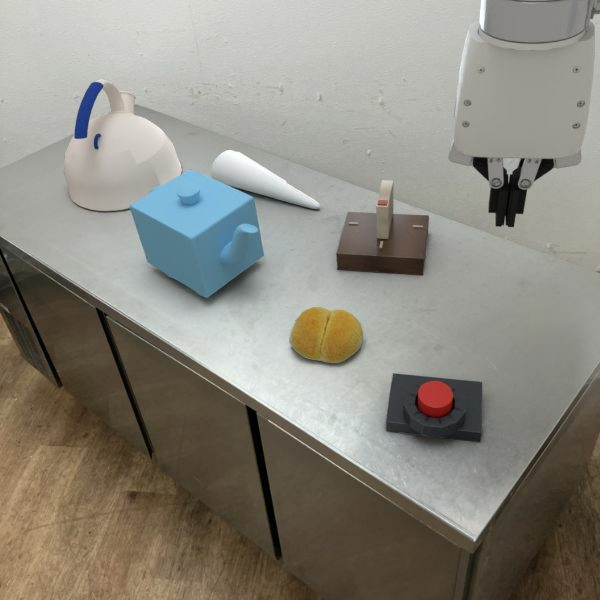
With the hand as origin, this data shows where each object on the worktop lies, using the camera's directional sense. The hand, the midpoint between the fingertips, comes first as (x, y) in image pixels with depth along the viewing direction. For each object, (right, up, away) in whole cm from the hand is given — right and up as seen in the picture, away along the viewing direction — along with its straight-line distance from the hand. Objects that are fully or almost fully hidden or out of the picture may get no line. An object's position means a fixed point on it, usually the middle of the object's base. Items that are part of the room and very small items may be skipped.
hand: (504, 217), depth 59 cm
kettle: (-50, +14, +57) cm, 77 cm away
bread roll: (-15, -13, +23) cm, 30 cm away
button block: (-4, -20, +13) cm, 24 cm away
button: (-4, -19, +10) cm, 22 cm away
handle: (-6, +3, +34) cm, 35 cm away
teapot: (-31, -4, +35) cm, 47 cm away
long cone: (-24, +9, +48) cm, 55 cm away
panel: (-6, +1, +36) cm, 36 cm away
